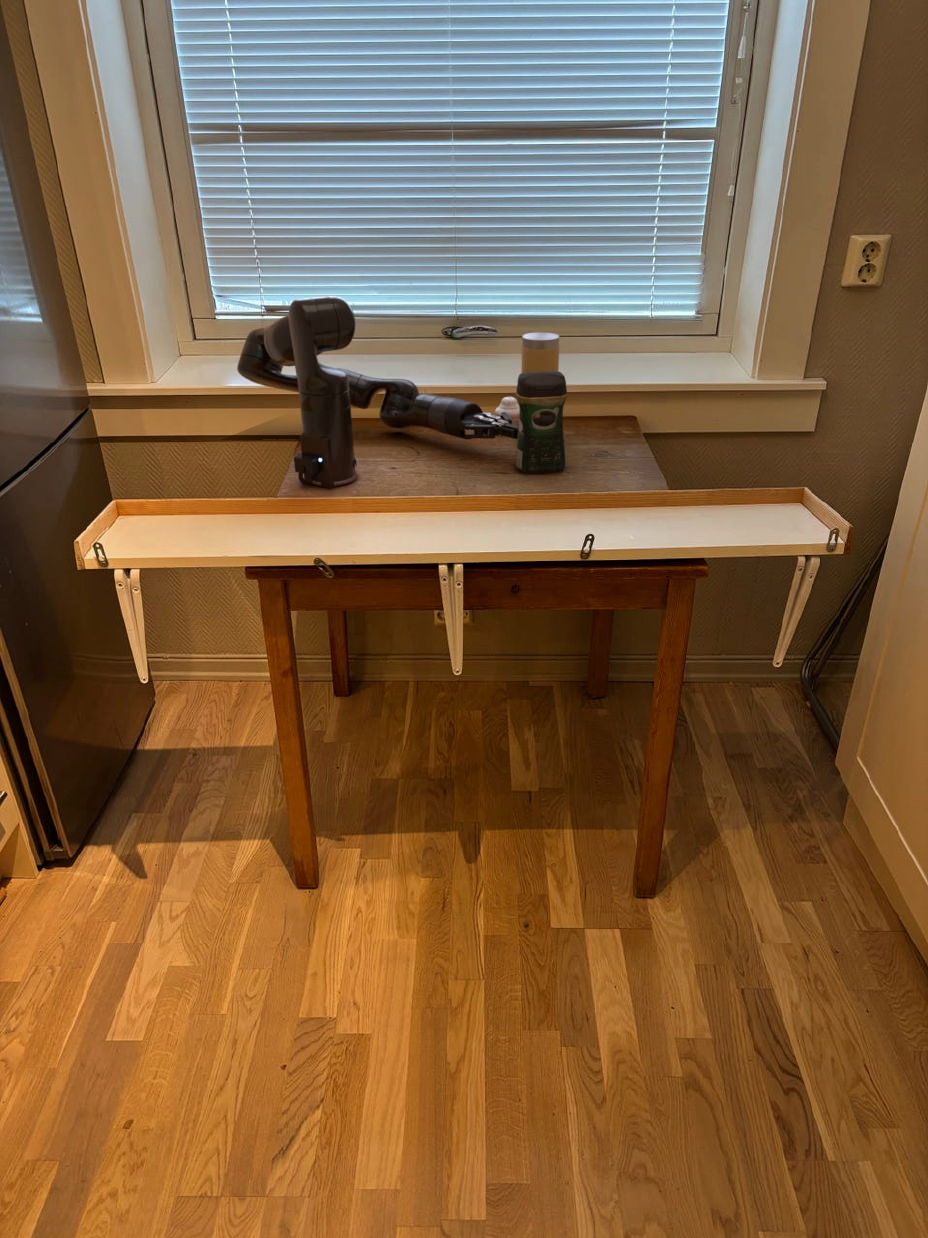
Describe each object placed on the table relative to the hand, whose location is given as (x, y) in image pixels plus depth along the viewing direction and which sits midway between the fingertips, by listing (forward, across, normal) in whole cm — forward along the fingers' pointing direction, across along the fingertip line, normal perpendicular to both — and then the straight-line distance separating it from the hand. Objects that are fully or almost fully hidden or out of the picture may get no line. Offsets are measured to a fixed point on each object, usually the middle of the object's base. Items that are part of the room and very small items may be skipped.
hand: (520, 433), depth 178 cm
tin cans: (-6, -13, -6) cm, 15 cm away
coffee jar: (+4, -1, -6) cm, 8 cm away
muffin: (-17, -18, -6) cm, 25 cm away
